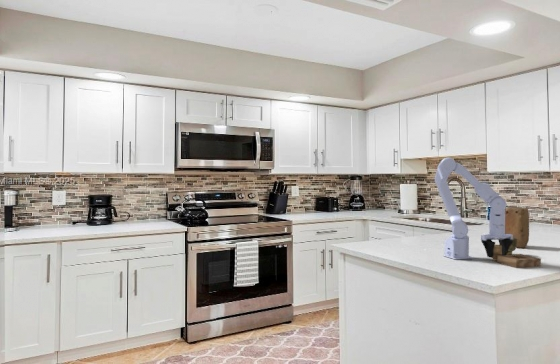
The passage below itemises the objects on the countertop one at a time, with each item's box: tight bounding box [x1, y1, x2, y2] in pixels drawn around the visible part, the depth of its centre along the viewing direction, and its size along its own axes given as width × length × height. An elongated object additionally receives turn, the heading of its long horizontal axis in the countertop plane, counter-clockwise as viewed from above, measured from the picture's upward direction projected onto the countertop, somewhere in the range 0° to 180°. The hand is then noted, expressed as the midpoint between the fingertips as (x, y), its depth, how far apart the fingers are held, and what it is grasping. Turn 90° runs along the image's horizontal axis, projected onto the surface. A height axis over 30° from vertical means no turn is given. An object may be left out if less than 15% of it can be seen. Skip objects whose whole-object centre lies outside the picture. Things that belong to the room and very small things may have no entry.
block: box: [505, 206, 530, 249], centre depth 191 cm, size 11×8×20 cm
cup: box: [498, 237, 518, 255], centre depth 172 cm, size 8×7×8 cm
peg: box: [491, 244, 502, 262], centre depth 159 cm, size 4×4×6 cm
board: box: [497, 253, 542, 269], centre depth 152 cm, size 12×9×3 cm
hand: (496, 256), depth 159 cm, fingers open, 6 cm apart
